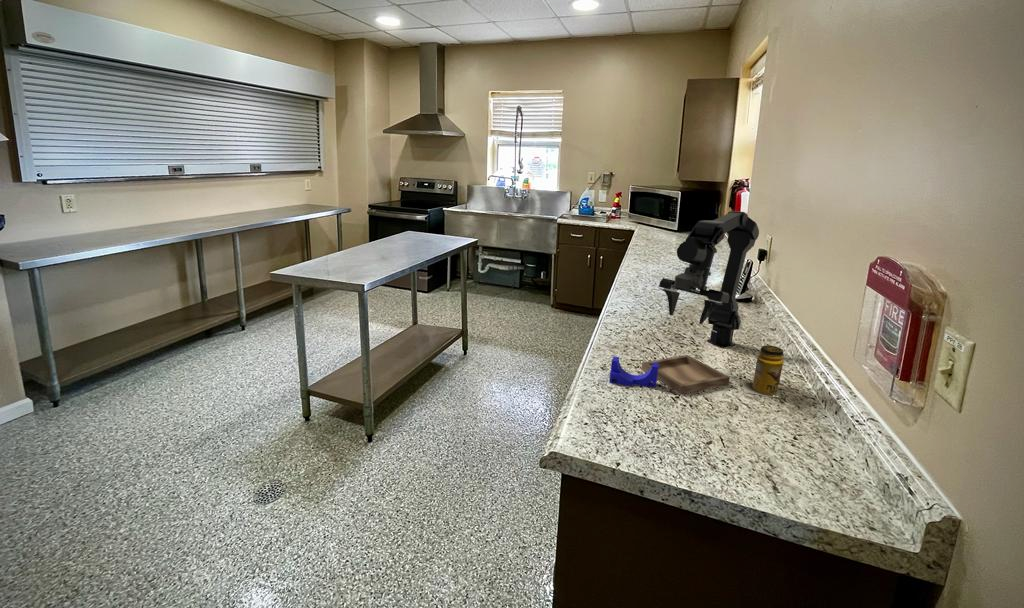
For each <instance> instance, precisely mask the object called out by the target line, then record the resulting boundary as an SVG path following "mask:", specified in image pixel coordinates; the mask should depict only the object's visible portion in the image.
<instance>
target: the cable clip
mask: <svg viewBox="0 0 1024 608" xmlns="http://www.w3.org/2000/svg"><path fill="white" fill-rule="evenodd" d="M658 365H659V363H654V362H653V365H652V367H651V369H650V370H649V371H648V372H647V373H646V372H645V373H643V374H638V375H637V374H631V373H628V372H627V371H626V370H624V369H623V367H622V365H621V363H620V357H618V356H613V357H612V359H611V367H610V372H609V381H608V383H609V384H616V385H621V386H629V387H633V385H637V386H643V387H649V388H657V381H658V380H657V374H658Z"/></svg>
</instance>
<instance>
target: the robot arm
mask: <svg viewBox="0 0 1024 608" xmlns="http://www.w3.org/2000/svg"><path fill="white" fill-rule="evenodd" d="M758 226H759V225H758V224H757V222H756V221H754V220H753V219H751V218H750V217H749V215H748V213H747V212H745V211H739V210H731V211H728V212H727V213H726V214H724V215H721V216H720V217H718V218H716V219H713V220H705V219H704V220H699V221H697V222H696V223H695V225H694V226H693V228H692V229H691V230H690V233H688V236H686V238H685V240H684V241H682V242H681V243H680V245H678V247H677V248H676V249H677V250H676V256H677V258H678V260H680V261H681V262H684V263H688V266H686V267H685V270H684V272H682V273H679V274H676V275H675V276H674V280H673V279H669V278H665V277H662V279H660V281H659V284H658V287H659V288H662V289H661V290H662V291H663V292H664V293H665V295H666V297H667V301H668V302H667V303H668V312H669V316H671V317H672V316H673V315H674V313H675V312H676V311H675V310H676V306H677V304H678V300H679V297H680V294H681V292H678V291H682V292H686V293H690V294H695V295H699V296H703V297H707V299H704V302H703V303H704V305H703V308H702V311H701V315H700V318H699V325H703V323H704V322H705V321H706V319H707V324H708V325H712V328H711V331H710V336H709V339H708V338H707V339H706V342H708V343H710V344H712V345H715V346H716V347H719V348H726V347H732V346H736V343H735V342H733V336H734V331H735V330H737V331H738V330H739V329H740V327H741V322H742V320H741V317H740V314H739V312H738V311H739V304H738V301H737V297H736V296H737V293H738V292H737V291H738V289H739V284H740V280H741V276H742V272H743V268H744V265H745V259H746V256H747V253H748V252H749V251H750V250H751V249H752V248H754V246H755V244H756V241H757V240H758V237H759V235H760V229H759V227H758ZM725 234H726V235H727V240H726V241H727V243H728V247H729V248H730V251H729V255H728V260H727V264H726V268H725V271H724V275H723V280H722V283H721V284H722V285H721V287H720V290H716V289H714V288H713V289H712V288H709V289H708V286H706V285H707V282H708V279H709V276H710V277H711V274H712V272H711V267H712V264H713V260H714V257H715V254H717V253H718V250H717V248H716V246H717V245H718V244H719V243H720V242H721V241H723V240H724V238H725V236H726V235H725Z"/></svg>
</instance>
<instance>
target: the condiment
mask: <svg viewBox="0 0 1024 608" xmlns="http://www.w3.org/2000/svg"><path fill="white" fill-rule="evenodd" d="M783 355H784V350H783V348H781V347H778V346H775V345H769V344H768V345H763V346H761V347H760V351H759V355H758V356H757V358H756V363H755V369H754V374H753V375H754V376H753V379H752V380H753V381H751V382H750V381H746V380H741V382H742V386H743V390H744V393H746V394H753V395H758V396H764V397H771V398H774V397H773V395H775V396H778V397H777V399H780V398H781V399H782V397H781V395H780V393H779V386H780V381H781V380H780V379H781V375H782V370H783V365H784V359H783V357H784V356H783Z"/></svg>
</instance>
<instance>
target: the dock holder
mask: <svg viewBox="0 0 1024 608" xmlns="http://www.w3.org/2000/svg"><path fill="white" fill-rule="evenodd" d="M653 362H654V363H659V365H658V374H657V381H659V382H660V383H662V384H664V385H665V386H666V387H668V388H670V389H671V390H674V391H675V392H676V393H678V394H679V395H685V394H689V393H695V392H699V391H705V390H709V389H710V390H711V389H713V388H718V387H719V388H720V387H725V386H728V385H729V384H730V380H731V377H730V376H729V375H727V374H725V373H723V372H721V371H719V370H717V369H715V368H713V367H711V366H710V365H708V364H706V363H704V362H702V361H699V359H698V360H697V359H696V358H694V357H692V356H691V355H689V354H686V355H684V354H683V355H681V356H673V357H666V358H662V359H661V358H660V359H655V360H649V361H642V362H641V370H642V371H643V372H645V373H647V372H648V371H649V370H650V369H651V367H652V365H653Z"/></svg>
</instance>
